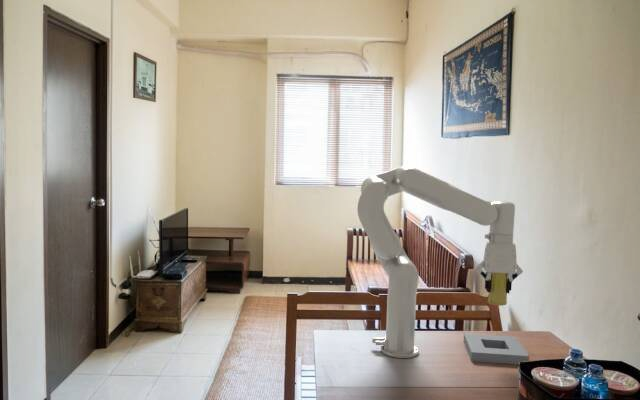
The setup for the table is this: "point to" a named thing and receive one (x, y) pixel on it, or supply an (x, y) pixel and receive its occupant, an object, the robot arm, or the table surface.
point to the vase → (498, 289)
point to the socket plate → (495, 349)
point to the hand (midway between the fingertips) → (497, 291)
